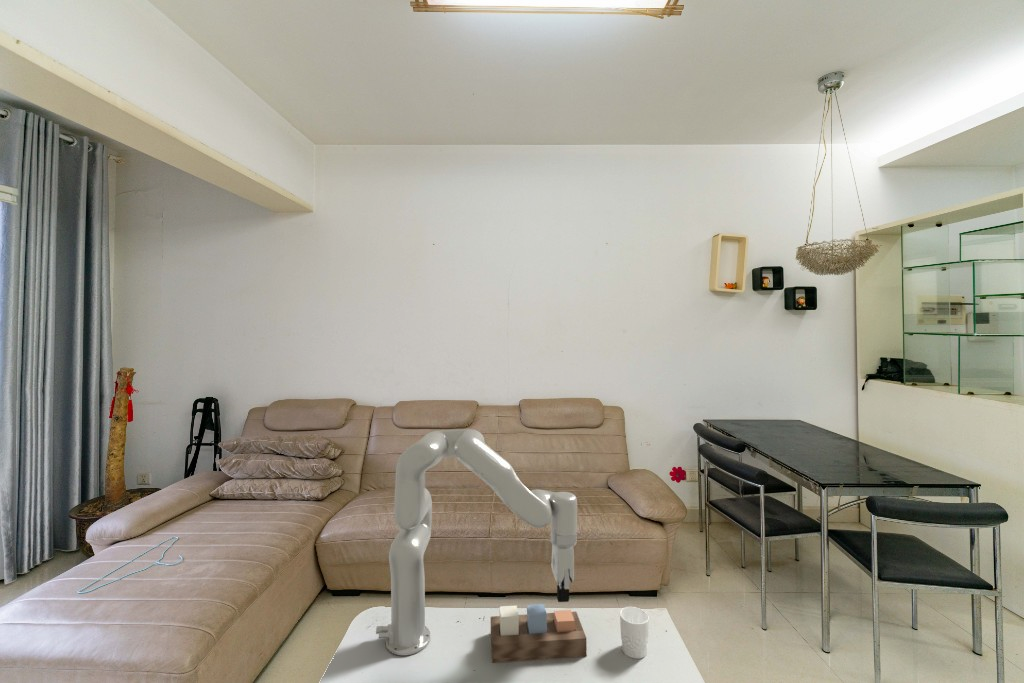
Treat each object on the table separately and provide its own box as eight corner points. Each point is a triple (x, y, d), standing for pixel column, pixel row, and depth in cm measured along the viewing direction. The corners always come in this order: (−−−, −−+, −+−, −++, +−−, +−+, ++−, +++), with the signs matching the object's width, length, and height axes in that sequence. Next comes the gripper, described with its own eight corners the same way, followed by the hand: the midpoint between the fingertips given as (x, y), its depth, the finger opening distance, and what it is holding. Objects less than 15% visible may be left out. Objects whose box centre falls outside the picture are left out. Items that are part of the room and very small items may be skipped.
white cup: (650, 645, 125) (650, 610, 125) (646, 664, 118) (646, 627, 118) (622, 637, 128) (622, 603, 128) (617, 655, 121) (617, 619, 121)
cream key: (500, 638, 122) (500, 617, 122) (499, 627, 127) (499, 606, 127) (518, 637, 123) (518, 616, 123) (516, 626, 128) (516, 605, 128)
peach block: (557, 642, 124) (557, 621, 124) (554, 631, 129) (553, 610, 129) (574, 641, 124) (574, 620, 124) (570, 630, 129) (570, 609, 129)
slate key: (529, 636, 123) (529, 615, 123) (527, 625, 128) (526, 604, 128) (546, 635, 123) (546, 614, 123) (543, 624, 128) (543, 603, 128)
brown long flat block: (492, 662, 118) (492, 644, 118) (490, 633, 130) (490, 616, 130) (586, 656, 121) (586, 638, 121) (576, 627, 133) (576, 611, 133)
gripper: (546, 526, 133) (545, 586, 133) (555, 549, 119) (555, 617, 119) (570, 525, 134) (570, 585, 134) (582, 548, 119) (582, 616, 119)
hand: (562, 600), depth 126 cm, fingers closed
